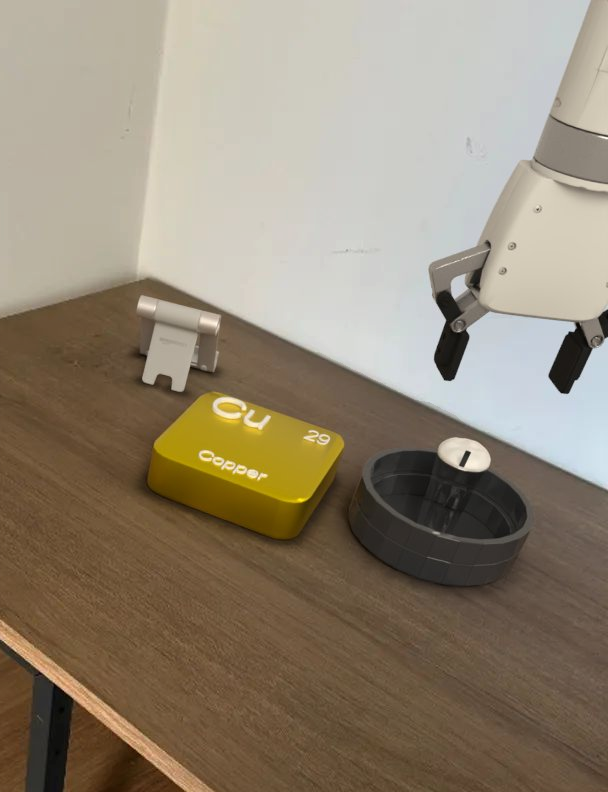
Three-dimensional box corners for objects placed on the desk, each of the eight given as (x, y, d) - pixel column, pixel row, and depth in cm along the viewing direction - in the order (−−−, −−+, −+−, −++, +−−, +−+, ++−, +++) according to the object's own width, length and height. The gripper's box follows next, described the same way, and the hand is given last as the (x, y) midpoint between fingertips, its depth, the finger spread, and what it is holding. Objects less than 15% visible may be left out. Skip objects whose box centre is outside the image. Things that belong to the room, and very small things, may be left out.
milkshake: (402, 539, 87) (441, 442, 80) (412, 511, 91) (450, 416, 84) (452, 556, 86) (495, 459, 80) (459, 526, 90) (501, 432, 84)
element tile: (138, 489, 88) (146, 443, 85) (200, 424, 99) (209, 382, 96) (291, 547, 84) (305, 501, 81) (338, 474, 95) (352, 431, 92)
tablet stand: (215, 369, 109) (230, 297, 104) (200, 398, 103) (215, 323, 98) (143, 350, 110) (154, 278, 105) (124, 377, 104) (135, 302, 99)
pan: (484, 500, 95) (504, 457, 92) (534, 598, 84) (559, 552, 81) (333, 483, 94) (348, 438, 91) (364, 580, 82) (382, 532, 79)
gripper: (685, 154, 71) (585, 370, 82) (459, 124, 69) (388, 348, 81) (734, 186, 65) (619, 413, 76) (489, 154, 64) (408, 390, 75)
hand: (501, 379), depth 79 cm, fingers open, 9 cm apart
